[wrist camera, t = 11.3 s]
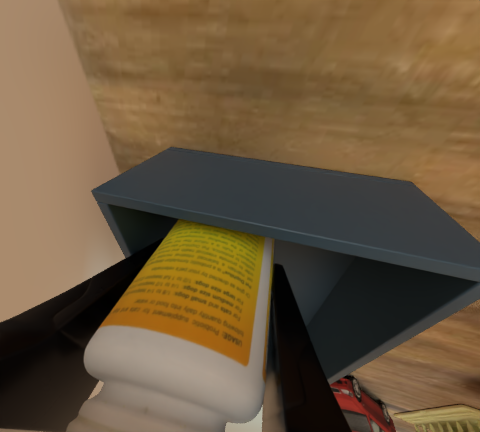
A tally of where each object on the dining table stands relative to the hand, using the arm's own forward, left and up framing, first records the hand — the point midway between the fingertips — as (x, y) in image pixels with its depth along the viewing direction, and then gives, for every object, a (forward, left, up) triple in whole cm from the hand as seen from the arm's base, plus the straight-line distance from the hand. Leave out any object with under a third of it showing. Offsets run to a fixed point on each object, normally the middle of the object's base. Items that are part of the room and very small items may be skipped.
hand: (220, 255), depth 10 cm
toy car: (+28, -21, -4) cm, 35 cm away
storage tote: (+4, -6, -4) cm, 8 cm away
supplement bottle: (0, 0, -3) cm, 3 cm away
